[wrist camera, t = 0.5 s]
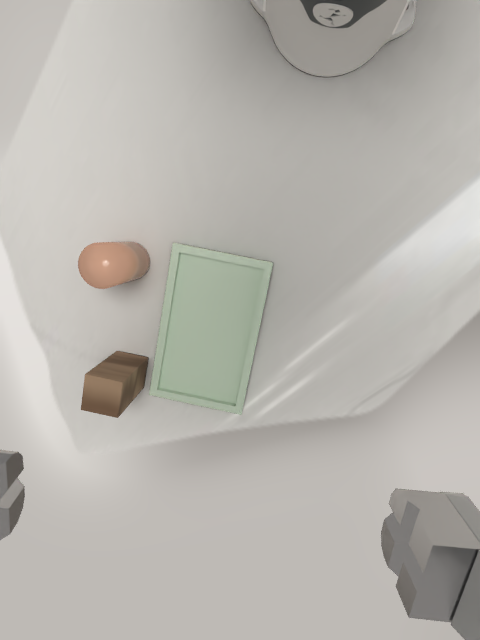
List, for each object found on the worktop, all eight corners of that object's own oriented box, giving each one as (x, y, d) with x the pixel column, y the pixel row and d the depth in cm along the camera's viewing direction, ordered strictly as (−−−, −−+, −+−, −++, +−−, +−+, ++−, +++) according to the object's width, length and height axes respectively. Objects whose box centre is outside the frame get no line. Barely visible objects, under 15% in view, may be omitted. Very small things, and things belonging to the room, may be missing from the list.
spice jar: (115, 238, 54) (80, 238, 44) (152, 245, 54) (125, 247, 44) (110, 275, 55) (75, 283, 45) (146, 282, 55) (119, 292, 45)
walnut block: (117, 350, 57) (85, 374, 47) (148, 357, 57) (122, 382, 47) (113, 380, 58) (81, 409, 48) (143, 387, 58) (117, 417, 48)
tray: (175, 242, 54) (172, 242, 52) (273, 262, 53) (273, 263, 52) (152, 390, 58) (149, 394, 56) (242, 410, 57) (241, 414, 56)
